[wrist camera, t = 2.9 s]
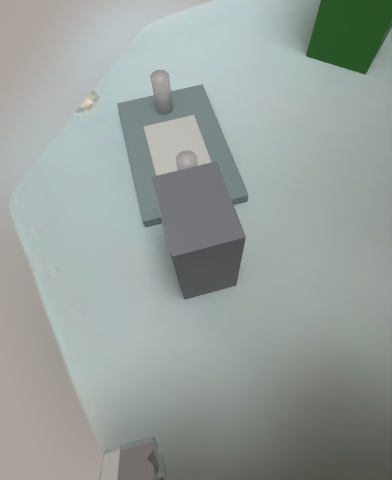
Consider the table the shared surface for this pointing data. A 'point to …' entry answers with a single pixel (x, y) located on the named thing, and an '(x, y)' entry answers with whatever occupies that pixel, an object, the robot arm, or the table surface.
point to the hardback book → (350, 32)
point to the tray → (174, 140)
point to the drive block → (200, 228)
